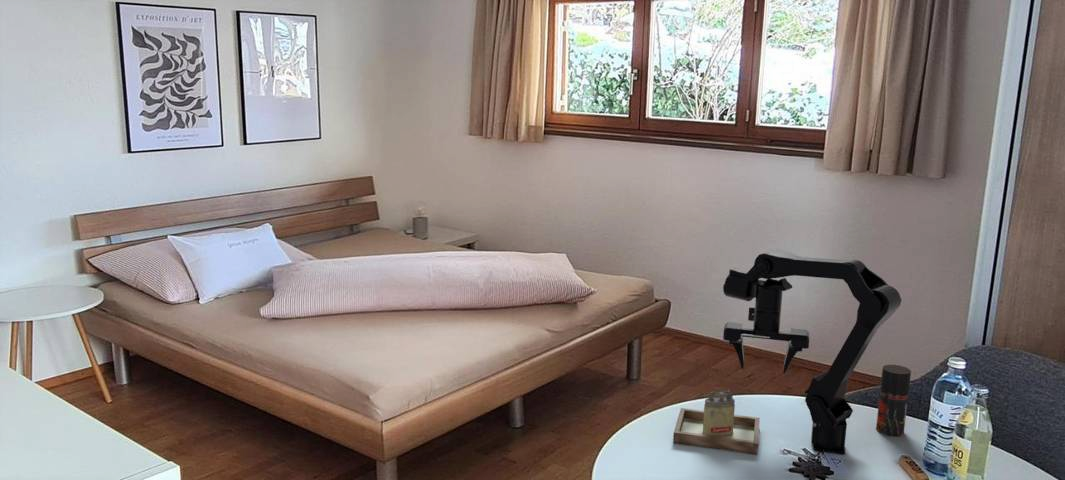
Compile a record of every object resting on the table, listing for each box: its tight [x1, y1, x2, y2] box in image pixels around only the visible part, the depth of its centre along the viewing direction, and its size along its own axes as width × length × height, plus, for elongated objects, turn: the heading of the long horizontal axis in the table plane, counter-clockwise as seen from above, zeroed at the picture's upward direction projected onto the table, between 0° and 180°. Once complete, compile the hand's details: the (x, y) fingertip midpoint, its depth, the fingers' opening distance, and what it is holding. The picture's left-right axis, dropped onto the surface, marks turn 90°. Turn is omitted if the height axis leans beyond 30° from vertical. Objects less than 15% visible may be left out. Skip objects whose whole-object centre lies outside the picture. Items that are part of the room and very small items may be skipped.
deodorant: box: [875, 364, 912, 438], centre depth 193 cm, size 6×6×15 cm
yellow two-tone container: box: [702, 389, 736, 436], centre depth 189 cm, size 7×4×10 cm, turn 102°
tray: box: [672, 407, 761, 456], centre depth 190 cm, size 18×14×3 cm
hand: (763, 370), depth 195 cm, fingers open, 9 cm apart
